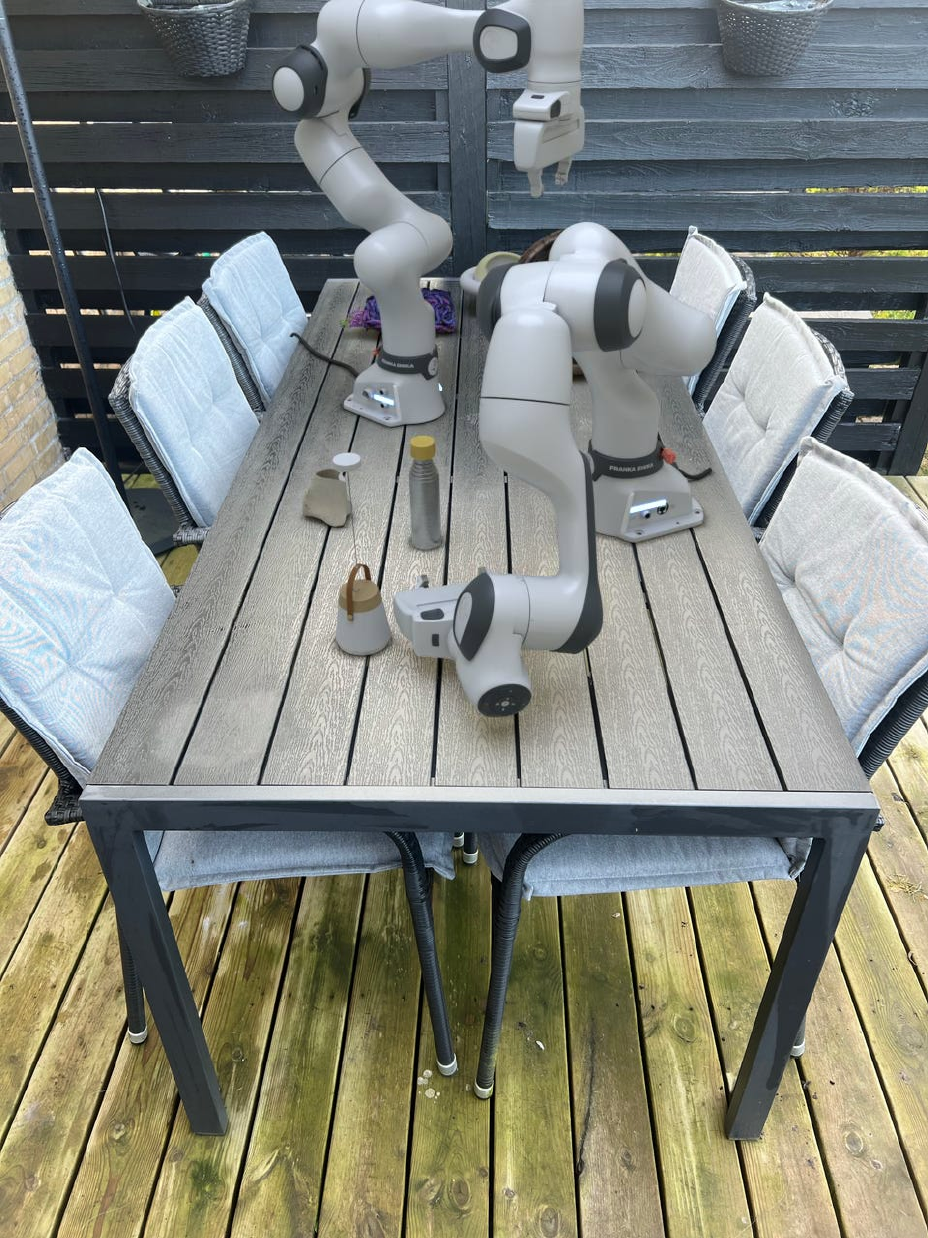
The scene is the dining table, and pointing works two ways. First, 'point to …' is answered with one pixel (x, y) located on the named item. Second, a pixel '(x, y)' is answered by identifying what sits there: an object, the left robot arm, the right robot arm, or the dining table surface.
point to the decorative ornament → (434, 297)
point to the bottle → (424, 504)
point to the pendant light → (359, 596)
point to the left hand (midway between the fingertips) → (549, 189)
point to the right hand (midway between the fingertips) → (452, 574)
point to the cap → (422, 448)
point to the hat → (484, 270)
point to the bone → (327, 498)
